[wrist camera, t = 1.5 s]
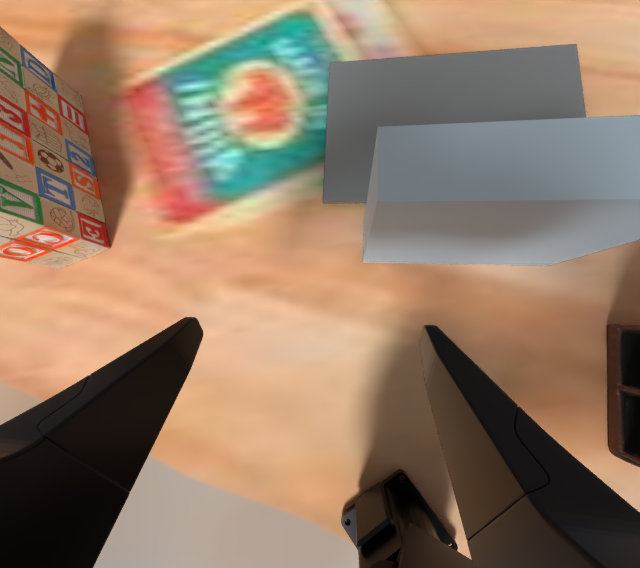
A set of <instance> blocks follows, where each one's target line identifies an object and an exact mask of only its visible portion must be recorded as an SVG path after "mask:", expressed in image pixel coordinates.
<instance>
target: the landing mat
mask: <svg viewBox="0 0 640 568" xmlns="http://www.w3.org/2000/svg"><path fill="white" fill-rule="evenodd" d="M564 118H586V112H585V105H584V97H583V89H582V82H581V74H580V66H579V59H578V51H577V44H569V45H556V46H543V47H530V48H517V49H504V50H491V51H478V52H465V53H452V54H438V55H425V56H412V57H399V58H386V59H373V60H360V61H347V62H334V63H329V84H328V105H327V126H326V147H325V168H324V189H323V203H367V196H368V189H369V183H370V176H371V170H372V163H373V156H374V150H375V143H376V137H377V130H378V127H385V126H407V125H430V124H452V123H475V122H497V121H519V120H542V119H564Z"/></svg>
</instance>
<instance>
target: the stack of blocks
mask: <svg viewBox="0 0 640 568" xmlns="http://www.w3.org/2000/svg"><path fill="white" fill-rule="evenodd" d="M100 200H101V197H100V192H99V186H98V180H97V178H96V173H95V168H94V163H93V158H92V154H91V149H90V144H89V139H88V130H87V125H86V120H85V115H84V109H83V103H82V98H81V96H80V95H79V94H78V93H77V92H76V91H75V90H73V89H72V88H71V87H70V86H68V85H67V84H66V83H65V82H64V81H63V80H62V79H61V78H59V77H58V76H57V75H56V74H55V73H53V72H52V71H51V70H49V69H48V68H47V67H46V66H45V65H44V64H42V63H41V62H40V61H39V60H38V59H36V58H35V57H34V56H33V55H32V54H31V53H30V52H28V51H27V50H26V49H25V48H24V47H23V46H22V45H20V44H19V43H18V42H17V41H16V40H15V39H14V38H13V37H12V36H11V35H9V34H8V33H7V32H6V31H5V30H4V29H2V28H1V27H0V257H3V258H8V259H13V260H18V261H24V262H29V263H35V264H41V265H46V266H51V267H56V268H63V267H66V266H68V265H71V264H73V263H76V262H78V261H80V260H83V259H85V258H89V257H91V256H94V255H96V254H98V253H101V252H103V251H105V250H107V249H109V248H110V246H109V241H108V237H107V232H106V227H105V225H104V224H105V217H104V212H103V207H102V203H101V201H100Z"/></svg>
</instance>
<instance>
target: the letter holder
mask: <svg viewBox="0 0 640 568" xmlns="http://www.w3.org/2000/svg"><path fill="white" fill-rule="evenodd" d="M607 331H608V434H609V450H610V452H611V453H612V454H613V455H615V456H616V457H618V458H620V459H622V460H624V461H626V462H628V463H631V464H633V465H635V466H638V467H640V325H619V324H614V325H608V326H607Z"/></svg>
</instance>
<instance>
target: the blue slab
mask: <svg viewBox="0 0 640 568" xmlns="http://www.w3.org/2000/svg"><path fill="white" fill-rule="evenodd" d="M637 240H640V115H631V116H609V117H587V118H564V119H542V120H519V121H497V122H475V123H452V124H430V125H407V126H385V127H378V130H377V137H376V143H375V150H374V156H373V163H372V170H371V176H370V183H369V189H368V196H367V203H366V209H365V216H364V223H363V263H417V264H472V265H528V266H550V265H554V264H557V263H560V262H564V261H567V260H571V259H574V258H578V257H581V256H585V255H588V254H592V253H595V252H599V251H602V250H606V249H609V248H613V247H616V246H619V245H623V244H626V243H630V242H633V241H637Z"/></svg>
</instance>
